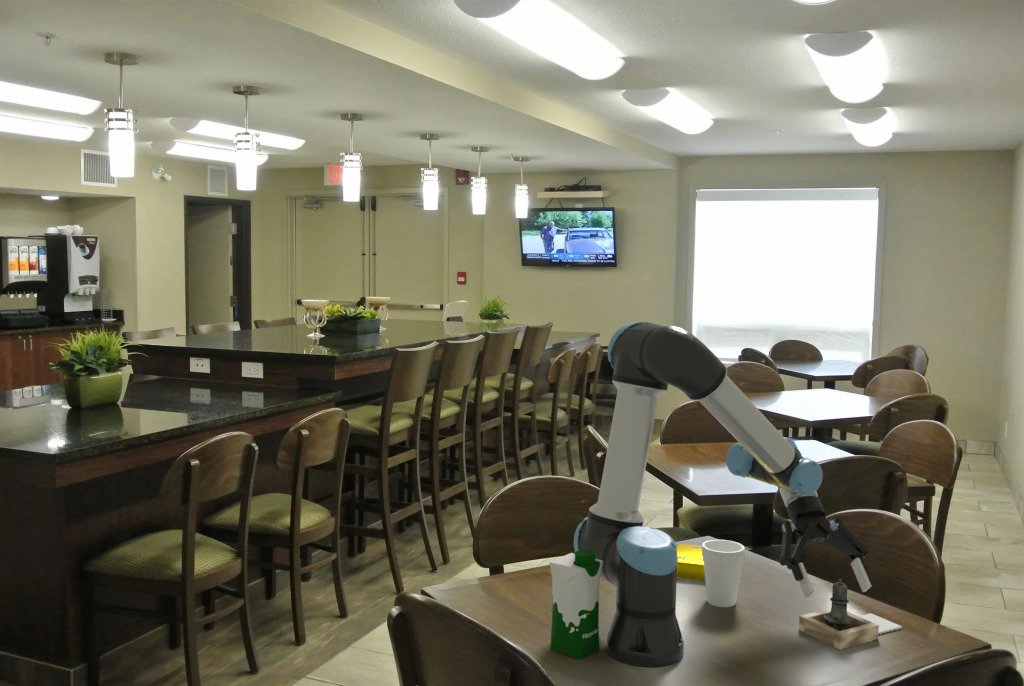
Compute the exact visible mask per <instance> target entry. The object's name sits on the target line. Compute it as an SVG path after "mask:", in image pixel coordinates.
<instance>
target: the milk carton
mask: <svg viewBox="0 0 1024 686" xmlns="http://www.w3.org/2000/svg"><path fill="white" fill-rule="evenodd" d="M548 564H549V567H550V571H551V572H550V573H551V578H552V579H551V581H552V589H551V590H552V591H551V593H552V598H551V600H552V601H551V602H552V605H551V607H552V608H551V616H552V617H551V631H550V632H551V633H550V647H549V649H550V650H552V651H554V652H557V653H559V654H563V655H566V656H569V657H571V658H573V659H574V658H575V659H576V660H580V659H583V658H585V657H586V656H587V655H589V654H591V653H593V652H594V651H597V650H598V649H600V633H599V632H600V631H599V627H600V626H599V618H600V617H599V615H600V614H599V610H600V581H601V577H600V576H601V571H602V565H603V561H602V560H599V559H595V552H593V551H590V550H579V551H576V552H575V551H574V552H570V553H568V554H565V555H563V556H560V557H557V558H556V559H554V560H551V561H549V563H548Z"/></svg>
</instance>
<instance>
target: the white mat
mask: <svg viewBox="0 0 1024 686" xmlns="http://www.w3.org/2000/svg"><path fill="white" fill-rule="evenodd" d="M858 616H859V617H861V618H863V619H866V620H868V621H870V622H873V623H875V624H877V625H879V632H878V636H880V635H883V634H882V633H884V634H886V632H887V633H890V631H891V632H894V630H895V631H898V630H902V629H903V627H902V625H900V624H897V623H895V622H892V621H890V620H888V619H886V618H883V617H881V616H878V615H876V614H873V613H866V614H862V615H858ZM879 634H880V635H879Z"/></svg>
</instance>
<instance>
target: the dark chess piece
mask: <svg viewBox="0 0 1024 686" xmlns="http://www.w3.org/2000/svg"><path fill="white" fill-rule="evenodd" d="M842 581H843V580H842V578H839V579H838V581H837V582H834V583H833V584H832V593H831V594H832V596H831V597H830V601H831V611H830V613H826V614H825V615H824V618H825V622H826V625H828V626H830V627H832V628H834V629H837V630H839V631H842V630H846V629H850V628H851V626H852V623H853V622H854V619H853V618H852V617H851V616H849V615H848V614H847V612H848V603H849V602H850V601H849V600H848V586H847V585H846V583H844V582H842Z"/></svg>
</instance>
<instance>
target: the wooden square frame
mask: <svg viewBox="0 0 1024 686" xmlns="http://www.w3.org/2000/svg"><path fill="white" fill-rule="evenodd" d="M830 611H831V608H827V609H822V610H818V611H814V612H810V613H806V614H801V615H799V617H798V631H800V632H803V633H804V634H806V635H809V636H811V637H813V638H814V639H815V638H816V639H817V640H819V641H821V642H824V643H825V644H827V645H830V646H832V647H834V648H836V649H838V650H839V651H842V650H845V649H848V648H851V647H855V645H856V646H858V644H859V645H862V643H863V644H866V642H867V643H870V642H873V640H874V641H877V640H879V635H878V632H879V625H877V624H875V623H873V622H870V621H868V620H866V619H863V618H861V617H859V616H860V615H856V614H854V613H852V612H849V611H847V614H848V615H849V616H851V617H852V618H853V619H854V622H853V623H852V626H851V628H850V629H846V630H842V631H839V630H837V629H834V628H832V627H830V626H828V625H826V622H825V618H824V615H825V614H826V613H830ZM876 639H877V640H876ZM844 648H845V649H844Z"/></svg>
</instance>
